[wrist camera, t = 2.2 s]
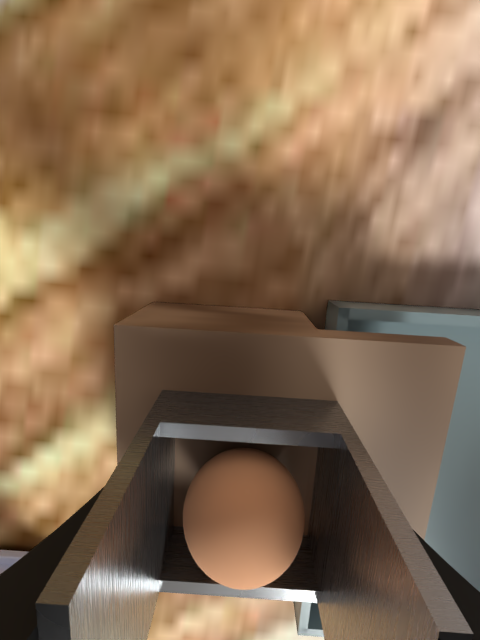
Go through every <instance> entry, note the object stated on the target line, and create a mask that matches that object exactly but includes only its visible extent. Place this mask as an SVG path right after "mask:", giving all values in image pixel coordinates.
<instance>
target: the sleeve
mask: <svg viewBox="0 0 480 640" xmlns="http://www.w3.org/2000/svg"><path fill="white" fill-rule="evenodd" d="M175 438H185V439H201V440H216V441H231V442H247V443H262V444H277V445H293V446H308V447H318V453H317V462H316V470H315V478H314V486H313V494H312V502H311V510H310V518H309V526H308V535H303V538H302V543H301V545H300V548H299V551H298V553H297V555H296V557H295V559H294V560H293V562H292V563H291V565H290V566H289V567H288V569H287V570H286V571H285V572H284V573H283V574H282V575H281V576H280V577H278V578H277V579H276V580H274V581H273V582H271V583H269V584H267V585H265V586H262V587H259V588H256V589H250V590H238V589H233V588H229V587H226V586H224V585H221V584H219V583H217V582H216V581H214V580H212V579H211V578H210V577H209V576H207V575H206V574H205V573H204V572H203V571H202V570H201V569H200V567H199V566H198V565H197V563H196V562H195V560H194V559H193V557H192V555H191V553H190V551H189V548H188V545H187V543H186V540H185V535H184V529H183V527H180V526H174V472H175ZM159 592H170V593H184V594H199V595H213V596H227V597H242V598H256V599H270V600H285V601H299V602H313V603H318V608H319V613H320V618H321V623H322V628H323V633H324V638H325V640H472V638H473V635H474V633H473V632H472V630H471V628H470V627H469V625H468V623H467V621H466V620H465V618H464V616H463V615H462V613H461V611H460V609H459V608H458V606H457V604H456V603H455V601H454V599H453V598H452V596H451V594H450V592H449V591H448V589H447V587H446V586H445V584H444V582H443V580H442V579H441V577H440V575H439V574H438V572H437V570H436V568H435V567H434V565H433V563H432V562H431V560H430V558H429V556H428V555H427V553H426V551H425V550H424V548H423V546H422V544H421V543H420V541H419V539H418V538H417V536H416V534H415V533H414V531H413V529H412V527H411V526H410V524H409V522H408V521H407V519H406V517H405V515H404V514H403V512H402V510H401V509H400V507H399V505H398V503H397V502H396V500H395V498H394V497H393V495H392V493H391V491H390V490H389V488H388V486H387V485H386V483H385V481H384V479H383V478H382V476H381V474H380V473H379V471H378V469H377V468H376V466H375V464H374V462H373V461H372V459H371V457H370V456H369V454H368V452H367V450H366V449H365V447H364V445H363V444H362V442H361V440H360V438H359V437H358V435H357V433H356V432H355V430H354V428H353V426H352V425H351V423H350V421H349V420H348V418H347V416H346V414H345V413H344V411H343V409H342V408H341V406H340V404H339V403H338V401H330V400H314V399H299V398H283V397H267V396H252V395H236V394H220V393H205V392H189V391H173V390H162V391H161V393H160V395H159V396H158V398H157V400H156V401H155V403H154V405H153V407H152V408H151V410H150V412H149V413H148V415H147V417H146V418H145V420H144V422H143V423H142V425H141V427H140V428H139V430H138V432H137V433H136V435H135V437H134V438H133V440H132V442H131V443H130V445H129V447H128V448H127V450H126V452H125V453H124V455H123V457H122V458H121V460H120V462H119V463H118V465H117V467H116V469H115V470H114V472H113V474H112V475H111V477H110V479H109V480H108V482H107V484H106V485H105V487H104V489H103V490H102V492H101V494H100V495H99V497H98V499H97V500H96V502H95V504H94V505H93V507H92V509H91V510H90V512H89V514H88V515H87V517H86V519H85V520H84V522H83V524H82V526H81V527H80V529H79V531H78V532H77V534H76V536H75V537H74V539H73V541H72V542H71V544H70V546H69V547H68V549H67V551H66V552H65V554H64V556H63V557H62V559H61V561H60V562H59V564H58V566H57V567H56V569H55V571H54V572H53V574H52V576H51V577H50V579H49V581H48V583H47V584H46V586H45V588H44V589H43V591H42V593H41V594H40V596H39V598H38V599H37V601H36V603H35V606H36V616H37V626H38V637H39V640H147V637H148V633H149V629H150V626H151V622H152V618H153V614H154V610H155V606H156V602H157V598H158V594H159Z"/></svg>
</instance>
